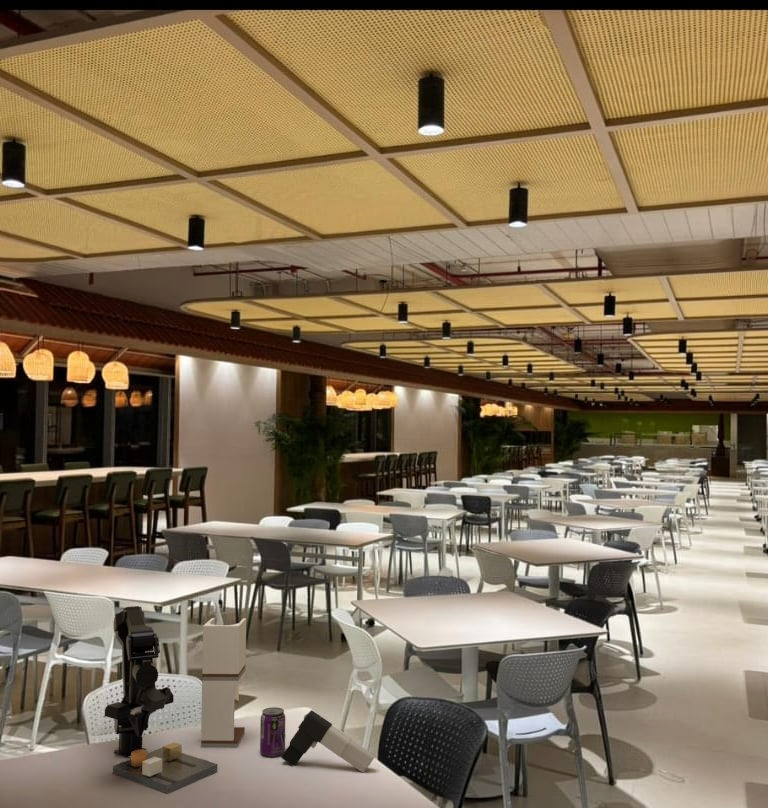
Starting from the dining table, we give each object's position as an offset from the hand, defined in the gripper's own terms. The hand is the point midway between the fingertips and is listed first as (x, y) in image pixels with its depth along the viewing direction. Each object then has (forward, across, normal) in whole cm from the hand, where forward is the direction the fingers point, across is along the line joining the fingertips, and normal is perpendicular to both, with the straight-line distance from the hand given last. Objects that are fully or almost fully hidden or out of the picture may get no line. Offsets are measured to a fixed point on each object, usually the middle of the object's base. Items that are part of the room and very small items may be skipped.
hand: (139, 736), depth 213 cm
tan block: (+7, +8, -4) cm, 11 cm away
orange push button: (+7, 0, 0) cm, 7 cm away
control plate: (+9, +4, -6) cm, 12 cm away
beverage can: (+10, +31, -20) cm, 38 cm away
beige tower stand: (+10, +30, -1) cm, 32 cm away
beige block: (+7, -2, -8) cm, 11 cm away
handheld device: (+10, +32, -39) cm, 52 cm away
